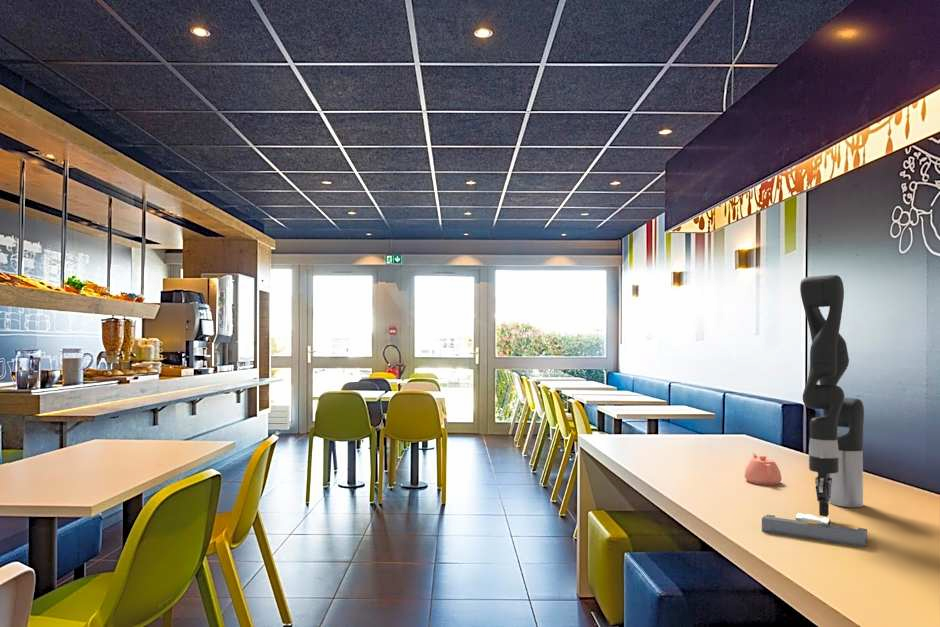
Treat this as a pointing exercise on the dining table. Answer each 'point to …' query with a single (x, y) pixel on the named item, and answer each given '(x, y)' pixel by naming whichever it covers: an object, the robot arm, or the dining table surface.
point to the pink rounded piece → (762, 471)
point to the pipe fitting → (813, 519)
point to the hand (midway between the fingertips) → (824, 515)
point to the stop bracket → (815, 531)
